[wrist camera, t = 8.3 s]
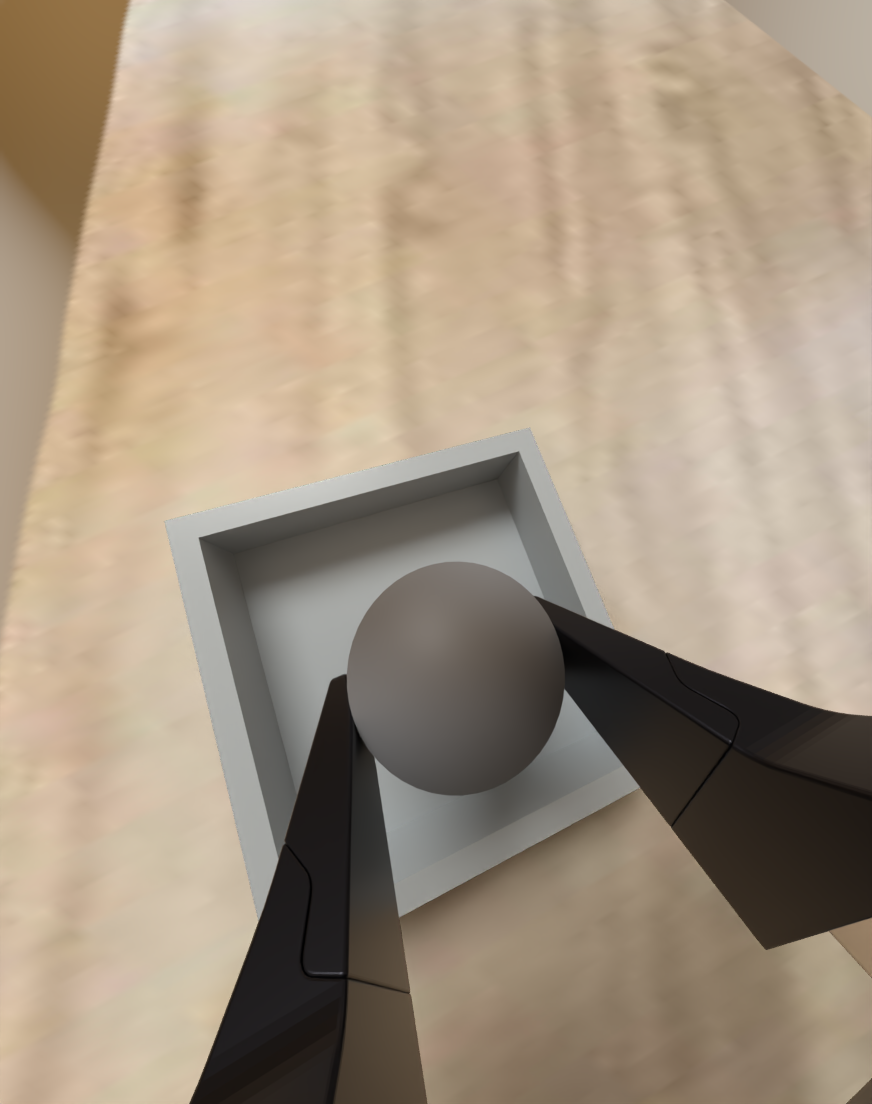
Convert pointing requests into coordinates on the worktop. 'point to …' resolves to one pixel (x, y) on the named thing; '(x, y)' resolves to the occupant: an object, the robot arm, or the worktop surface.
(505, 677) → the spice jar
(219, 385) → the worktop surface
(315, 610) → the bin
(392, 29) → the worktop surface
